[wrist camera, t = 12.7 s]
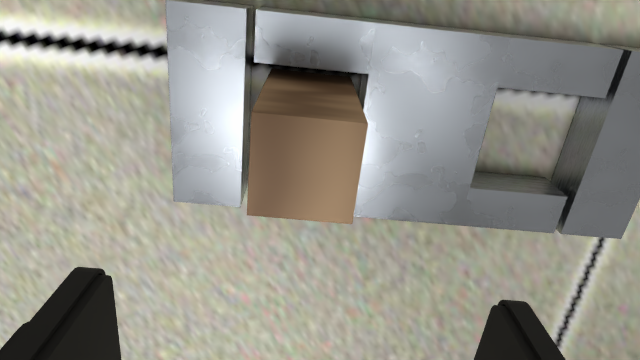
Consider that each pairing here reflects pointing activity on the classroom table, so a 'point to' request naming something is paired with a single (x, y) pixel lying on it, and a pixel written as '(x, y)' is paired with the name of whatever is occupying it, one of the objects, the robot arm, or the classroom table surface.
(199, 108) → the grey slotted board
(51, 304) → the robot arm
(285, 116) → the walnut peg
